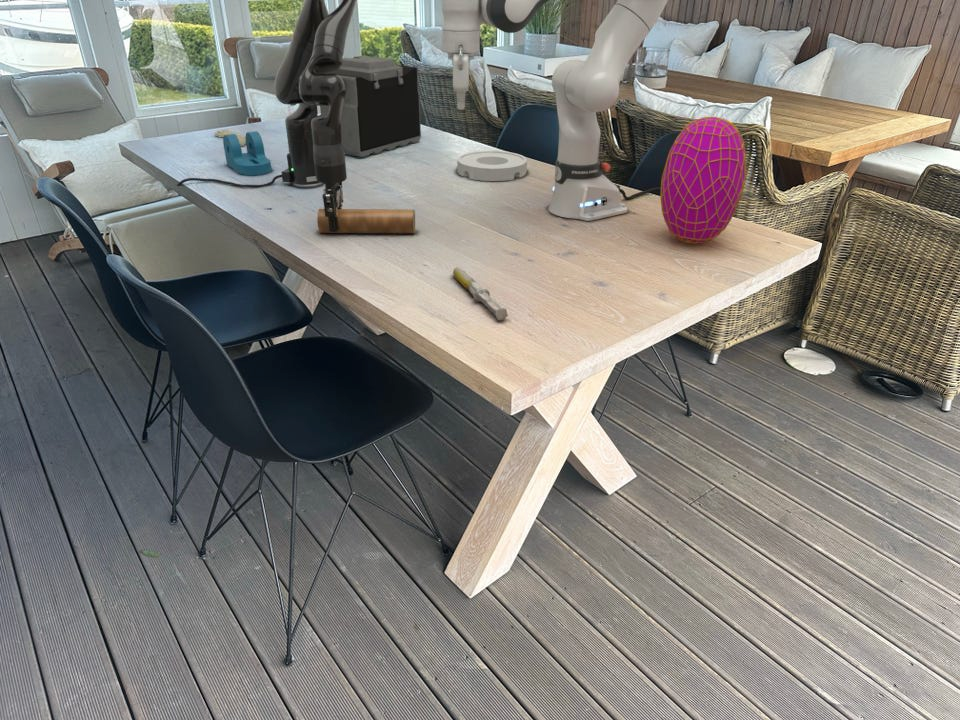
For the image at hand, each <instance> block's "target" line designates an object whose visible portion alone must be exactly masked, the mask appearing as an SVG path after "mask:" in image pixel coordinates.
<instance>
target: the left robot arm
mask: <svg viewBox="0 0 960 720" xmlns="http://www.w3.org/2000/svg"><path fill="white" fill-rule="evenodd" d="M356 3H357V0H341V2H340V3H339V5H337V7H336V8H335V9H334V10H333V11H332V12H330V13H329V10H328V7H327V5H326V2H325V0H304V2H303V4H302V7H301V9H300V12H299V15H298V18H297V20H296V23H295V26H294V29H293V33H292V37H291V40H290V42H289V45H288V48H287V51H286V53H285V56H284V58H283V60H282V62H281V64H280V66H279V68H278V70H277V72H276V74H275V78H274V84H273V87H274V88H273V90H274V94H275V98H276V100H278V101H279V103H281V104H283V105H287V106H288V105H291V106H292V105H298V107H297V109H296V110H295V111H293V112H292V113H290V114H289V115H287V116H286V117H285V120H284V123H285V131H286V138H287V146H288V153H287V154H286V161H287V168H286V169H284V170H282V171H281V174H278V175H275V176H274V177H273V178H272V180H271V181H269V182H267V183H262V184H241V183H236V182H231V181H226V180H222V179H217V178H201V177H187V178H183V179H182V180H180V181H179V182H178V183H177V184H176V186H177V187H180V186H182V185H183V184H185V183H186V182H191V181H192V182H193V181H196V182H215V183H220V184H224V185H229V186H233V187H239V188H262V187H269V186H271V185H273V184H274V183H275V182H276V181H277V179H280V178H281V179H282V183H289V184H290V186H294V187H296V188H300V189H301V188H303V189H310V188H317V187H320V186H322V185H324V188H323V194H322V196H321V197H322V202H323V209H325V216H326V217H328V221H329V230H330V231H338V229H339V228H338V218H337V216H338V214H337V209H343V207H344V206H343V204H344V194H343V182H345V181H346V180H347V179H348V177H347V176H348V175H347V165H346V154H345V153H344V147H343V142H342V132H341V118H342V110H343V104H344V99H345V93H346V89H345V84H344V81H343V80H342V78H341V77H340V76H338V75H336V74H328V73H332V72H336V71H338V70H339V69H340V68H341V65H342V60H343V58H344V52H345V48H346V47H345V46H346V40H347V35H348V31H349V27H350V24H351V21H352V17H353V14H354V10H355V7H356ZM320 106H329V112H328V114H326V115H321V114H320V115H321V116H319V115H318V114H319V113H318V107H320ZM330 209H332V210H333V212H330Z"/></svg>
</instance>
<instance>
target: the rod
mask: <svg viewBox="0 0 960 720" xmlns="http://www.w3.org/2000/svg"><path fill="white" fill-rule="evenodd" d="M330 212H333V210H332V209H331V208H330ZM415 212H416V211H415V209H398V208H397V209H396V208H395V209H394V208H393V209H389V208H388V209H387V208H386V209H384V208H382V209H380V208H379V209H377V208H374V209H371V208H370V209H369V208H366V209H365V208H360V209H359V208H342V209H337V214H338V216H337V218H338V228H339V229H338V231H330V230H329V221H328V217H326V216H325V209H324V208H319V209H318V211H317V216H316V218H317V221H316V222H317V229H318V232H319V233H320V234H415V233H416V213H415Z"/></svg>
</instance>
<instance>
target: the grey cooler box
mask: <svg viewBox="0 0 960 720" xmlns="http://www.w3.org/2000/svg"><path fill="white" fill-rule="evenodd" d="M328 74H336V75H338V76H340V77H341V78H342V80H343V81H344V84H345V89H346V93H345V99H344V104H343V110H342V118H341V132H342V142H343V147H344V153H345V155H348V156H353V157H357V158H362V159H363V158H366V157H367V158H368V157H369V155H371V154H375V155H377V154H381V153H382V152H383V151H391V150H395V149H396V148H397V147H405V146H407V145H408V144H416V143H418V142H419V141H421V137H422V128H421V97H420V92H419V91H420V89H419V68H418V67H417V66H408V65H400V64H396V62H395V60H394V59H393V58H385V57H377V56H367V55H356V56H353V57H350V58H349V57H343V60H342V65H341V68H340V69H339V70H338V71H336V72H332V73H328ZM319 110H320V111H319V112H320V114H319V115H318V116H321V115H326V114H328V112H329V106H319Z"/></svg>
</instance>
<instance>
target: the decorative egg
mask: <svg viewBox="0 0 960 720" xmlns="http://www.w3.org/2000/svg"><path fill="white" fill-rule="evenodd" d="M746 152H747V151H746V147H745V142H744V139H743V137H742V135H741V132H740V131H739V129H738V128H737V126H736V125H735V124H734V123H733V122H731V121H729V120H727V119H724V118H721V117H717V116H704V117H700V118H697V119H694V120H692V121H691V122H689V123H688V124H686V125H685V126H684V127H683V129H681V132H680V133H679V134H678V135H677V136H676V138H675V140H674V142H673V144H672V145H671V147H670V149H669V152H668V155H667V158H666V162H665V164H664V168H663V170H662V171H663V172H662V175H661V181H660V188H661V191H660V193H659V195H660V196H659V197H660V205H661V212H662V213H661V214H662V217H663V221H664V223H665V225H666V227H667V229H668V231H669V233H671V234H672V235H673V236H674V237H675V238H676V239H677V240H679V241H681V242H683V243H684V242H685V243H688V244H705V243H708V242H711V241H712V240H714V239H715V238H717V237H718V236H720V235H721V233H723V231H724V230H725V229H726V228H727V227H728V226H729V223H730V222H731V220H732V218H733V216H734V214H735V212H736V209H737V207H738V205H739V202H740V201H741V199H742V198H741V197H742V195H743V191H744V187H745V181H746V174H747V153H746Z"/></svg>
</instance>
